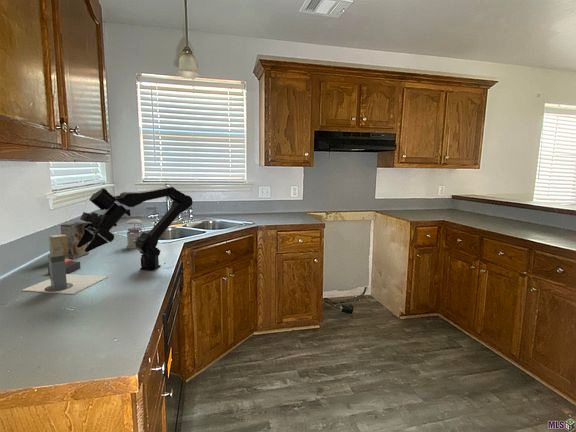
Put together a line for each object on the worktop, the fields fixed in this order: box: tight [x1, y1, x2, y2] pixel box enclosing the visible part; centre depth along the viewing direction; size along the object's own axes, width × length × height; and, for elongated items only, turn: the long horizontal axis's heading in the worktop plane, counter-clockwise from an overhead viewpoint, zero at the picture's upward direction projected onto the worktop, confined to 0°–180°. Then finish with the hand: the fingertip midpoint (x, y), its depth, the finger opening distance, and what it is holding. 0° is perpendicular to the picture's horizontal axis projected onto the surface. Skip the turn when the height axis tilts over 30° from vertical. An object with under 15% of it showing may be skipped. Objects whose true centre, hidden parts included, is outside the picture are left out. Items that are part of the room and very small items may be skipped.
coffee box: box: [60, 221, 90, 259], centre depth 160 cm, size 9×6×16 cm
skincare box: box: [48, 234, 70, 259], centre depth 151 cm, size 6×4×12 cm
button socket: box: [47, 260, 81, 274], centre depth 138 cm, size 8×8×3 cm
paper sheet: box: [21, 273, 108, 295], centre depth 124 cm, size 20×18×1 cm
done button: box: [65, 258, 74, 266], centre depth 138 cm, size 4×4×3 cm
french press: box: [125, 206, 145, 249], centre depth 181 cm, size 10×12×25 cm
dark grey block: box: [47, 253, 67, 290], centre depth 118 cm, size 4×4×12 cm
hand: (81, 249), depth 123 cm, fingers open, 9 cm apart
